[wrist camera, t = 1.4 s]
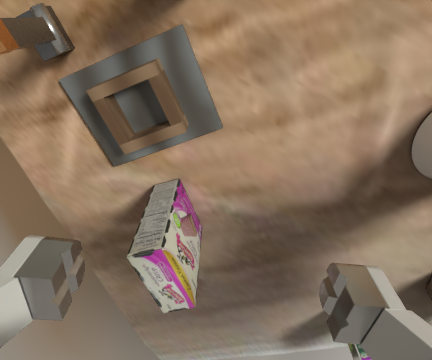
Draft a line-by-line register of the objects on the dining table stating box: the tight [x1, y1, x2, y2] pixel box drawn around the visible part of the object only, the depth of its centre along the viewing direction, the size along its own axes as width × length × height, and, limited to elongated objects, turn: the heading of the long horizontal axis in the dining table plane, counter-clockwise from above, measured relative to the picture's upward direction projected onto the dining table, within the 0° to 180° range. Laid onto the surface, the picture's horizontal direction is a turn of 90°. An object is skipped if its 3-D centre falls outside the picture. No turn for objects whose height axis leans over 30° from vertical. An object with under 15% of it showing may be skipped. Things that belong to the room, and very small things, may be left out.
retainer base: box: [16, 3, 75, 61], centre depth 35 cm, size 4×5×4 cm
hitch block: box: [59, 24, 223, 167], centre depth 39 cm, size 18×14×4 cm
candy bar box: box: [127, 179, 202, 313], centre depth 43 cm, size 11×5×16 cm, turn 19°
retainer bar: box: [0, 17, 57, 54], centre depth 28 cm, size 1×3×10 cm, turn 21°
